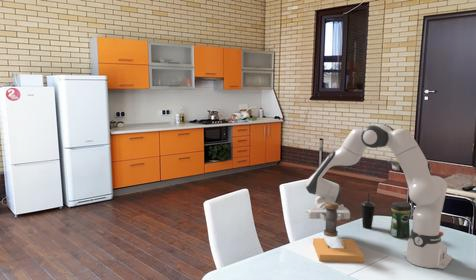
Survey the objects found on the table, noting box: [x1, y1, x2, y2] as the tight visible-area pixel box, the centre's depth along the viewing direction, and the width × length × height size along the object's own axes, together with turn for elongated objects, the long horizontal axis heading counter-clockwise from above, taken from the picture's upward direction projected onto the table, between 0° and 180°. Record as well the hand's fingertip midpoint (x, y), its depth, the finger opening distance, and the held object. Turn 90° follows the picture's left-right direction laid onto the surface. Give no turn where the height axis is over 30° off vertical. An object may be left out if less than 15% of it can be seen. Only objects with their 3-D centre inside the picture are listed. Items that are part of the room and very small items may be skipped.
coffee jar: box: [389, 201, 412, 239], centre depth 208 cm, size 10×8×19 cm
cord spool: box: [323, 202, 340, 238], centre depth 186 cm, size 6×6×15 cm
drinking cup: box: [360, 192, 376, 230], centre depth 220 cm, size 8×8×20 cm
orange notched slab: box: [312, 237, 365, 263], centre depth 186 cm, size 20×20×3 cm
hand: (331, 218), depth 185 cm, fingers closed on cord spool, 5 cm apart
